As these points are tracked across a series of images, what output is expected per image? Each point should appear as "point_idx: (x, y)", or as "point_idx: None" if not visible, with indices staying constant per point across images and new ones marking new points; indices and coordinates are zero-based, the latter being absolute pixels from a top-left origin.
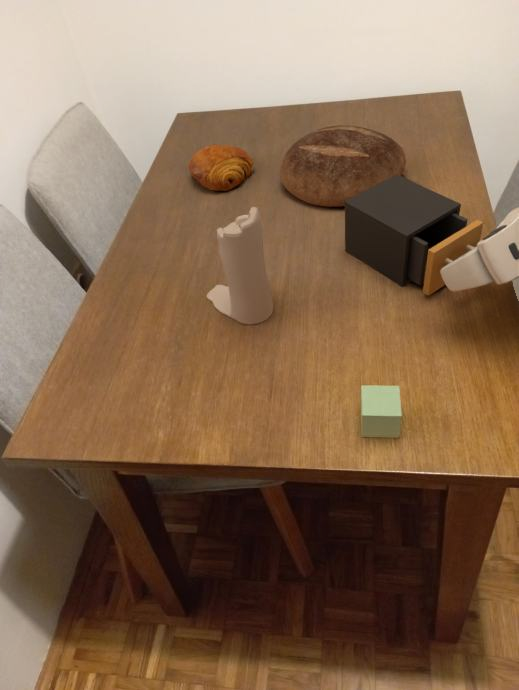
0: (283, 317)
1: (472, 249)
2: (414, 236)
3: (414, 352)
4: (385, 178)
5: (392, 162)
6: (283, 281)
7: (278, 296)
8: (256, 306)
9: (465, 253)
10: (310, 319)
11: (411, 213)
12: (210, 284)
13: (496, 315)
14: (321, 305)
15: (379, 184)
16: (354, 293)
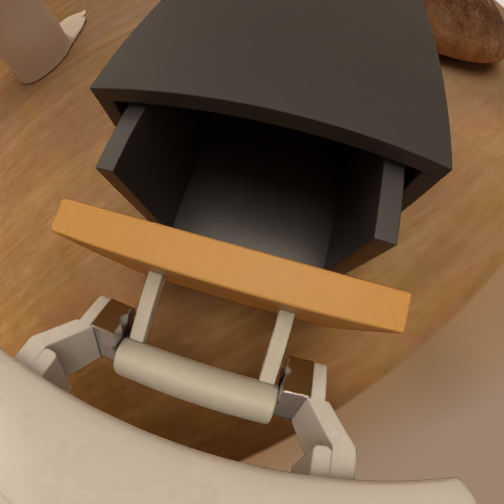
0: (35, 93)
1: (32, 408)
2: (140, 106)
3: (12, 317)
4: (438, 24)
5: (471, 23)
6: (109, 40)
7: (75, 58)
8: (7, 64)
9: (9, 379)
10: (34, 121)
11: (254, 30)
12: (86, 7)
13: (180, 443)
14: (65, 109)
15: None
16: (108, 128)
